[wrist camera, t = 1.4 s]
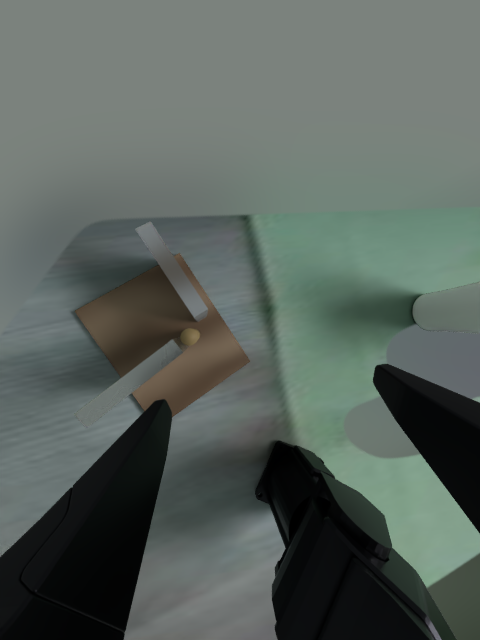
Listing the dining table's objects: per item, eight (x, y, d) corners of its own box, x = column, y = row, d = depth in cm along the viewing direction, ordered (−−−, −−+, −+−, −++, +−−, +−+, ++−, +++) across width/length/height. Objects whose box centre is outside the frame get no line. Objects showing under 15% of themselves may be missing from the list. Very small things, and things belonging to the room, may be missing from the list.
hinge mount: (249, 360, 23) (274, 377, 15) (157, 425, 21) (126, 490, 12) (180, 255, 22) (165, 209, 14) (78, 311, 20) (-13, 297, 12)
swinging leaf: (183, 336, 21) (172, 339, 14) (190, 344, 21) (183, 352, 14) (122, 382, 20) (73, 414, 12) (130, 392, 20) (86, 428, 12)
